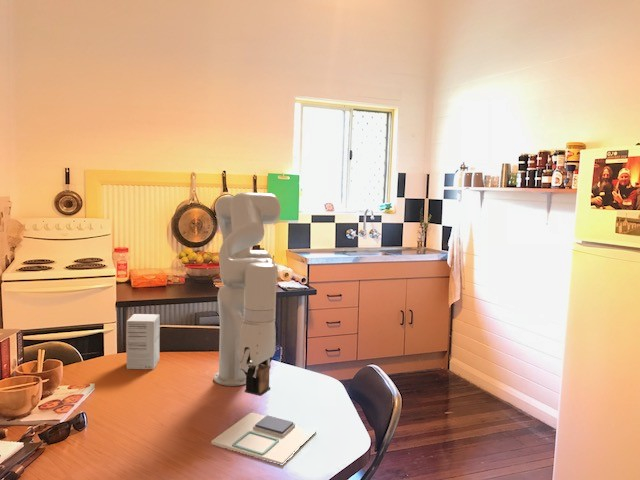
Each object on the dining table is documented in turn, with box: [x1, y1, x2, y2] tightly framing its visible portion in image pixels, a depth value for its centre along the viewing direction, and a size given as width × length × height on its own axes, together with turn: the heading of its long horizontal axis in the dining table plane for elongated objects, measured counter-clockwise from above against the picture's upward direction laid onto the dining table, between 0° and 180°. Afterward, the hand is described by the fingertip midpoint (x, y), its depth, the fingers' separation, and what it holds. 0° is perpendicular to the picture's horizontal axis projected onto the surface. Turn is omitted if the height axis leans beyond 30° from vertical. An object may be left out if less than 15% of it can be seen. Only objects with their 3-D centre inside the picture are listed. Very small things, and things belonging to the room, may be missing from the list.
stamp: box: [244, 364, 271, 397], centre depth 121 cm, size 4×4×6 cm
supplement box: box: [125, 313, 161, 370], centre depth 173 cm, size 10×9×17 cm
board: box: [210, 411, 309, 464], centre depth 127 cm, size 18×20×2 cm
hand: (257, 387), depth 122 cm, fingers closed on stamp, 4 cm apart
